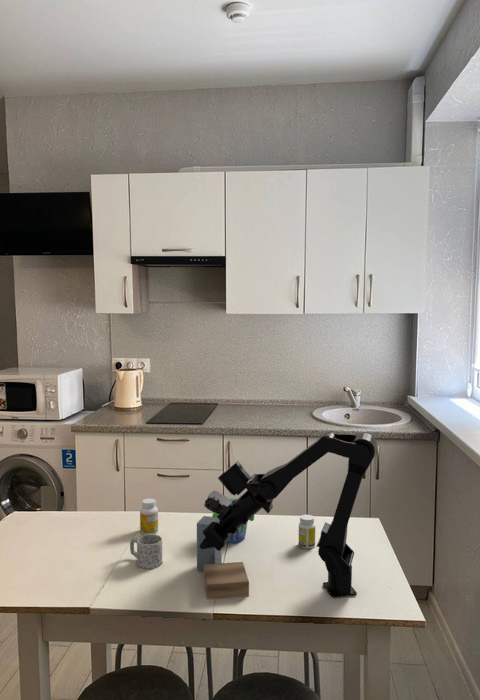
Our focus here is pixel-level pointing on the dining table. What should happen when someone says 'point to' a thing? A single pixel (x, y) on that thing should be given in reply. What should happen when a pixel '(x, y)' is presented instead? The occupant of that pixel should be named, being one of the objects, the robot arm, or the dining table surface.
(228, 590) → the walnut block
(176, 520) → the dining table surface
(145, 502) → the supplement bottle
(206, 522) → the brushed metal block
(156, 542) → the mug
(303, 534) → the supplement bottle
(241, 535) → the snack cup
